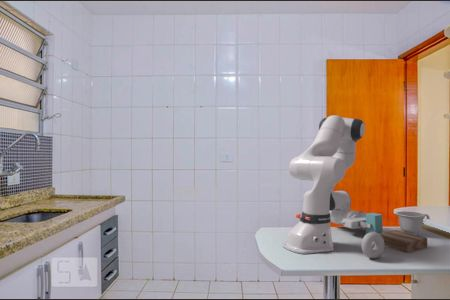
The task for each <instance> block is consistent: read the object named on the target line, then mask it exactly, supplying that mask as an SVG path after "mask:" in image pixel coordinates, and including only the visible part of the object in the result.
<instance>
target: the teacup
mask: <svg viewBox="0 0 450 300" xmlns="http://www.w3.org/2000/svg"><path fill="white" fill-rule="evenodd" d="M396 215H397V217H398V224H399V227H400V229H401V230H402V232H405V233H409V234H413V235H417V236H419V234H418V233H420V232H421V231H422V229H423V225H425V224H424V223H423V222H424V220H425V219H426V220H427V219H429V220H430V219H431V218H430V215H428V214H427V213H421V212H415V211H397V212H396ZM425 217H426V218H425Z"/></svg>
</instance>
